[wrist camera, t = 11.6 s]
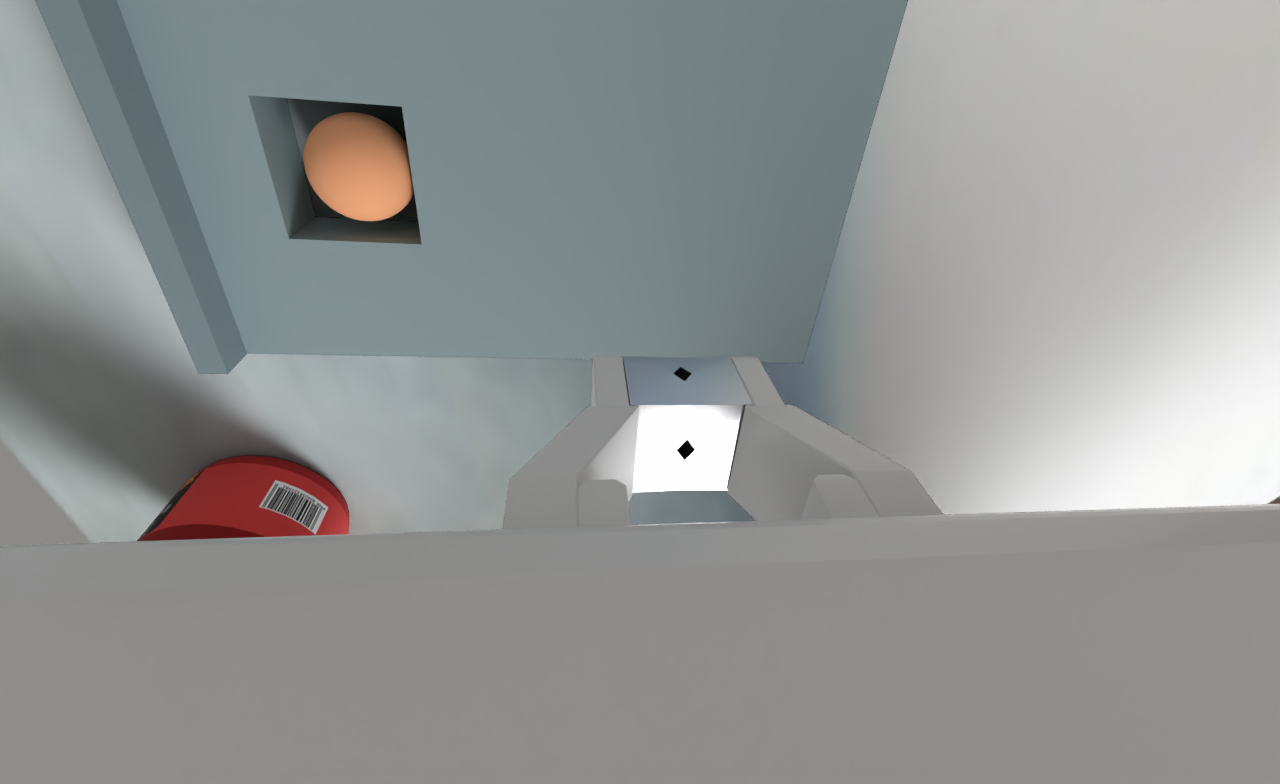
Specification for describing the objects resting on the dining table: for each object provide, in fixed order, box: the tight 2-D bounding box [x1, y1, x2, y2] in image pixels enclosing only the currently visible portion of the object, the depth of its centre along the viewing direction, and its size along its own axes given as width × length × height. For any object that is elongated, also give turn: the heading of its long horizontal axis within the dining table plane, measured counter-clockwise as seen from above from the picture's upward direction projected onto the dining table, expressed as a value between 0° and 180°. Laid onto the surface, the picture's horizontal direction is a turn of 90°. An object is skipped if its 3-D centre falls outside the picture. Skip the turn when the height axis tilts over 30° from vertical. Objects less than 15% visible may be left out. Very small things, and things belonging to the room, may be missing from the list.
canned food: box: [137, 456, 349, 541], centre depth 25 cm, size 8×8×11 cm
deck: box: [35, 0, 908, 374], centre depth 20 cm, size 24×14×4 cm, turn 85°
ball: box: [303, 112, 414, 221], centre depth 19 cm, size 4×4×4 cm
